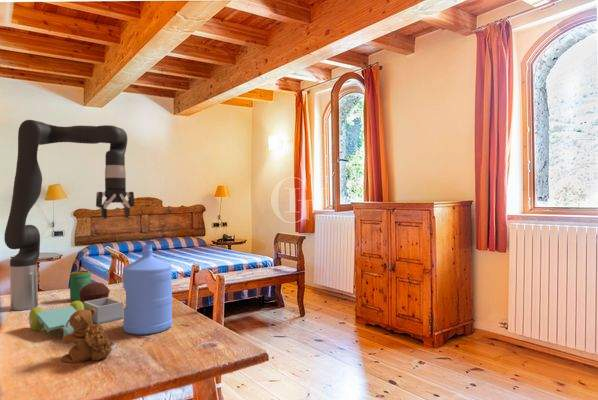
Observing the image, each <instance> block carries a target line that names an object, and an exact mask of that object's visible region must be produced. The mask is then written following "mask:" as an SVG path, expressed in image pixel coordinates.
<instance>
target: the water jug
mask: <svg viewBox="0 0 598 400" xmlns="http://www.w3.org/2000/svg"><path fill="white" fill-rule="evenodd" d="M141 246H142V250H141V251H142V256H141V257H140V258H138V259H136V260H135V261H133V262H131V263H129V264H127V265H126V266H124V267H123V269H122V288H123V290H124V291H125V307H123V323H122V327H123V330H124V332H125V333H127V334H131V335H137V336H139V335H141V336H142V335H151V334H158V333H162V332H164V331H166V330H169V328H171V327H172V325H173V289H172V286H173V285H172V284H173V283H172V279H173V269H172V265H171V264H170V263H168V262H166V261H164V260H161V259H160V258H156V257H154V255H153V244H143V245H141Z"/></svg>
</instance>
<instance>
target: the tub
mask: <svg viewBox="0 0 598 400" xmlns="http://www.w3.org/2000/svg"><path fill="white" fill-rule="evenodd" d="M84 309H86V310H90V309H95V312H94V313H93V315H92V322H93V324H100V325H103V324H107V323H111V322H114V321H115V322H116V321H119V320H124V302H123V301H120V300H118V299H114V298H112V297H109V296H108V297H106V298H101V299H96V300H90V301H85V302H84Z"/></svg>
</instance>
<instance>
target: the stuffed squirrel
mask: <svg viewBox="0 0 598 400" xmlns="http://www.w3.org/2000/svg"><path fill="white" fill-rule="evenodd" d="M94 312H95V309H90V310H86V309H84V310H78V311H76V312H75V313H73V314H72V315H71V316H70V319H69V320H68V321H67V323H66V324H67V325H68V322H69V323H70V325H71V326H72V327H73V329H74V330H73V334H70V335H65V336H63V338H62V342H63V344H65V345H68V344H72V343H73V345H72V347H71V348H70V349H69V350H68V353H67V354H64V355H63V356H62V357H60V361H61V362H63V363H71V364H73V363H80V362H87V361H88V360H89V361H90V360H91V361H93V362H95V361H100V360H102V359H105V358H107V357H108V356H109V355H110V353H111V351H113V348H112V346H111V341H110V339H109V337H108V336H107V333H106V331H105V329H104V327H103V326H102V324H96V323H93V322H92V315H93V313H94ZM67 325H65V327H66V328H67Z"/></svg>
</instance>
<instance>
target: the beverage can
mask: <svg viewBox="0 0 598 400" xmlns="http://www.w3.org/2000/svg"><path fill="white" fill-rule="evenodd" d="M89 283H92V276H91V273H90V270H77V271H72V272H71V274H70V275H69V300H71V303H72V302H74V301H80V295H79V292H80V291H81V289H82V288H83V287H84V286H86V285H87V284H89Z"/></svg>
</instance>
